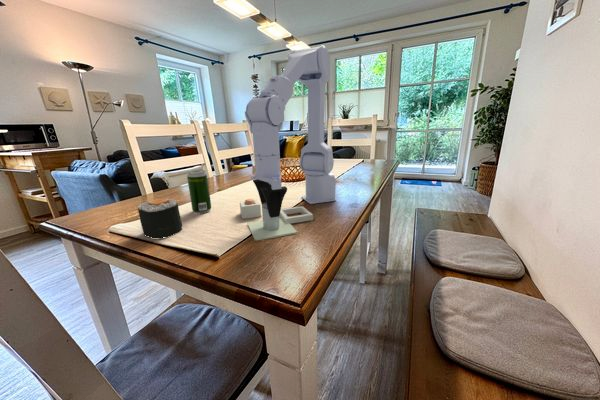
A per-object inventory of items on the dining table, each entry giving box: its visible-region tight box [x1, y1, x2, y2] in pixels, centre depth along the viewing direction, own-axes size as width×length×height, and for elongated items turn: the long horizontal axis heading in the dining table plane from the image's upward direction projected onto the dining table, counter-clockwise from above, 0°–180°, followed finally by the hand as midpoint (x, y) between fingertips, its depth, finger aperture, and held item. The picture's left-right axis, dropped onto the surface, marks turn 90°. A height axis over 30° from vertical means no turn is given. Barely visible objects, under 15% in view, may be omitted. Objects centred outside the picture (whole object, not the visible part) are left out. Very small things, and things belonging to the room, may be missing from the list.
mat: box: [247, 217, 298, 242], centre depth 61 cm, size 10×10×1 cm
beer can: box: [186, 169, 212, 215], centre depth 73 cm, size 5×5×12 cm
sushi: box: [136, 198, 183, 239], centre depth 60 cm, size 8×8×8 cm
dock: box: [279, 205, 314, 225], centre depth 68 cm, size 8×8×2 cm
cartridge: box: [261, 202, 280, 231], centre depth 60 cm, size 4×4×6 cm
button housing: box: [239, 199, 262, 219], centre depth 70 cm, size 5×5×4 cm
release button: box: [244, 198, 255, 205], centre depth 70 cm, size 2×2×2 cm
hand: (270, 211), depth 60 cm, fingers open, 7 cm apart
